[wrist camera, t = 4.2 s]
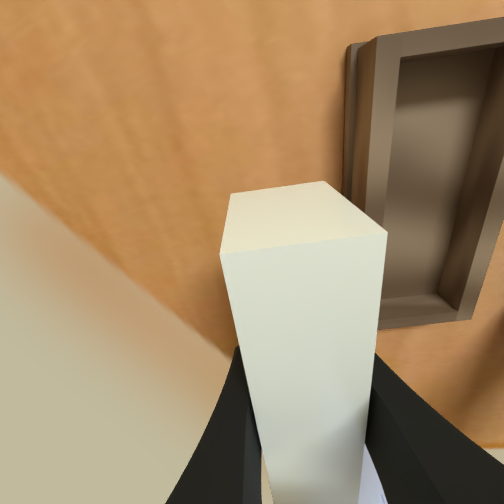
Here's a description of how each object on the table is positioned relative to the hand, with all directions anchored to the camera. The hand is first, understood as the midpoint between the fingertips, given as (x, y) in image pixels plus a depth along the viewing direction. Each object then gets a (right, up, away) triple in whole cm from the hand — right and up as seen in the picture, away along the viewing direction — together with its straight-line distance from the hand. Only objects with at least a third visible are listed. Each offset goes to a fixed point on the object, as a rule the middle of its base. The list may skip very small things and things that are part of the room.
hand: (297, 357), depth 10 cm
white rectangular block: (0, +1, +2) cm, 2 cm away
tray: (+8, +7, +6) cm, 12 cm away
